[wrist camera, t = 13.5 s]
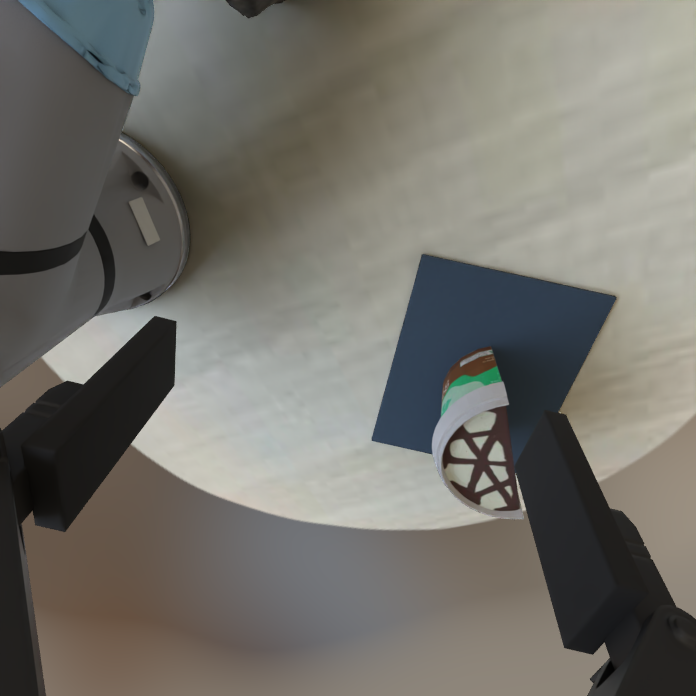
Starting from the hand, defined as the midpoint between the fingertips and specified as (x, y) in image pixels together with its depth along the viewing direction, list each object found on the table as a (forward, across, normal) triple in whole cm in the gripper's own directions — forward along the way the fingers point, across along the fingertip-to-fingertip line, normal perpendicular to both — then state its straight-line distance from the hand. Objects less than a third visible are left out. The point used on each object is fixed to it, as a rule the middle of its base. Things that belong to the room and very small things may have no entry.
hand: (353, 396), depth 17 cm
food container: (+24, +11, -14) cm, 30 cm away
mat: (+24, +12, -12) cm, 30 cm away
